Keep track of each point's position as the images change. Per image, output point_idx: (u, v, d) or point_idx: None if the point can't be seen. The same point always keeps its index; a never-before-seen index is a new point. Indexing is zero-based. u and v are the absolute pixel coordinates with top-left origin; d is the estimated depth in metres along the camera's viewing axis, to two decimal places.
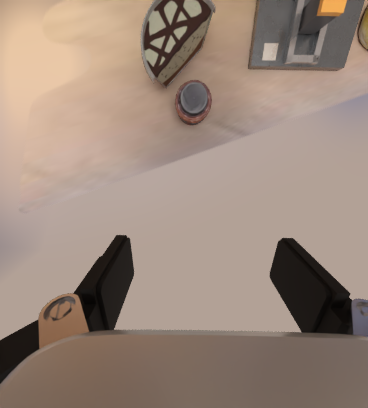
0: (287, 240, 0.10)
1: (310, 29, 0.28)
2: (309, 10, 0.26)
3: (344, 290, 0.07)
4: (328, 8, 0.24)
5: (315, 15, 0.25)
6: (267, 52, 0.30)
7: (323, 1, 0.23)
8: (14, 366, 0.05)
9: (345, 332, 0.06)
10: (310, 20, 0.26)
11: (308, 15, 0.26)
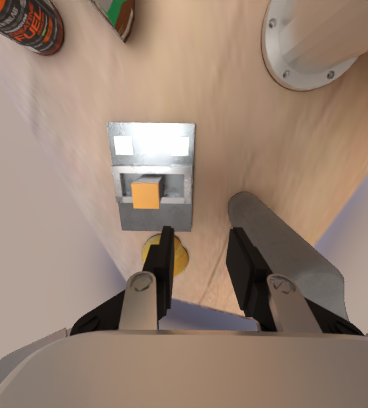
0: (236, 228, 0.11)
1: None
2: (151, 178, 0.23)
3: (264, 266, 0.08)
4: (135, 191, 0.21)
5: (136, 181, 0.21)
6: (122, 142, 0.24)
7: (140, 184, 0.20)
8: None
9: (261, 301, 0.07)
10: (137, 179, 0.22)
11: (147, 178, 0.23)
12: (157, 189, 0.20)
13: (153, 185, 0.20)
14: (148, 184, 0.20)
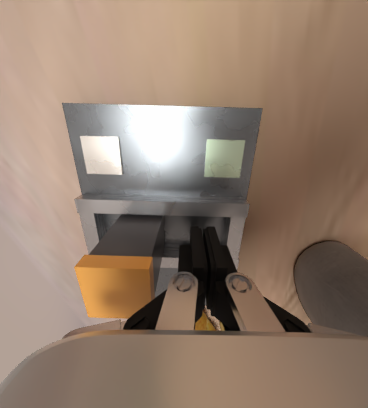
0: (208, 228, 0.11)
1: None
2: (137, 229, 0.10)
3: (225, 265, 0.08)
4: (87, 284, 0.08)
5: (96, 249, 0.09)
6: (99, 148, 0.11)
7: (100, 268, 0.07)
8: None
9: (220, 300, 0.07)
10: (103, 239, 0.09)
11: (127, 230, 0.10)
12: (148, 280, 0.08)
13: (137, 272, 0.07)
14: (123, 270, 0.07)
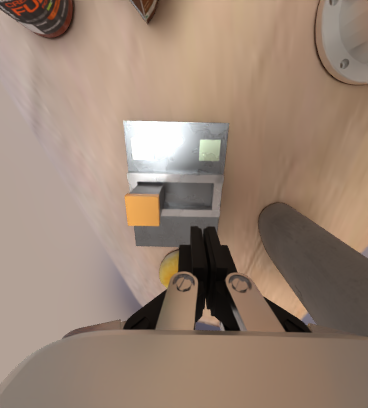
0: (208, 228, 0.11)
1: None
2: (150, 187, 0.19)
3: (225, 265, 0.08)
4: (129, 205, 0.17)
5: (131, 193, 0.18)
6: (141, 145, 0.20)
7: (136, 196, 0.16)
8: None
9: (220, 300, 0.07)
10: (133, 190, 0.18)
11: (144, 187, 0.19)
12: (157, 203, 0.17)
13: (152, 198, 0.16)
14: (146, 197, 0.16)
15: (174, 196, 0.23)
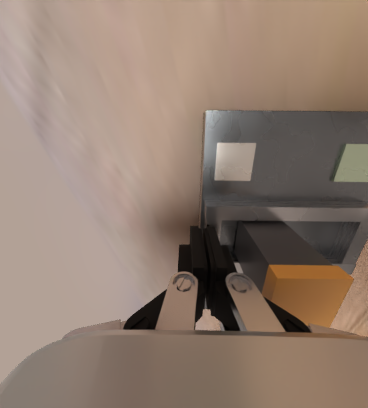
0: (208, 228, 0.11)
1: (242, 245, 0.12)
2: (279, 236, 0.10)
3: (225, 265, 0.08)
4: (281, 294, 0.07)
5: (269, 259, 0.08)
6: (234, 155, 0.11)
7: (302, 278, 0.07)
8: None
9: (220, 300, 0.07)
10: (260, 247, 0.09)
11: (270, 237, 0.10)
12: (344, 289, 0.07)
13: (339, 283, 0.07)
14: (326, 281, 0.07)
15: None
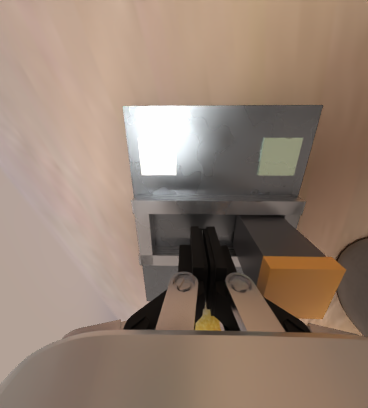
0: (207, 228, 0.11)
1: (239, 239, 0.12)
2: (276, 229, 0.10)
3: (224, 265, 0.08)
4: (275, 285, 0.08)
5: (264, 251, 0.09)
6: (156, 150, 0.11)
7: (295, 269, 0.07)
8: None
9: (219, 300, 0.07)
10: (256, 240, 0.09)
11: (266, 230, 0.10)
12: (337, 280, 0.08)
13: (331, 273, 0.07)
14: (319, 271, 0.07)
15: None
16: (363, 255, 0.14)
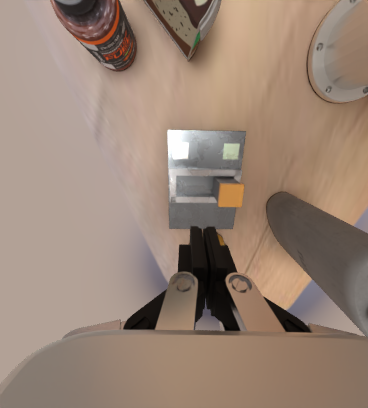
0: (208, 228, 0.11)
1: (214, 187, 0.27)
2: (227, 179, 0.26)
3: (225, 265, 0.08)
4: (223, 191, 0.23)
5: (220, 183, 0.24)
6: (180, 147, 0.27)
7: (228, 185, 0.23)
8: None
9: (220, 300, 0.07)
10: (218, 181, 0.25)
11: (224, 180, 0.26)
12: (242, 189, 0.23)
13: (240, 186, 0.23)
14: (236, 185, 0.23)
15: (202, 187, 0.29)
16: (274, 199, 0.30)
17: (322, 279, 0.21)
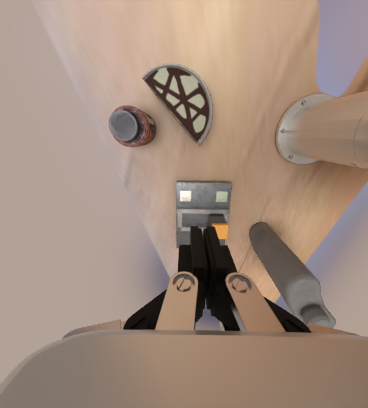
0: (208, 228, 0.11)
1: (209, 221, 0.38)
2: (218, 218, 0.37)
3: (225, 265, 0.08)
4: None
5: (213, 222, 0.35)
6: (185, 194, 0.37)
7: (218, 225, 0.34)
8: None
9: (220, 300, 0.07)
10: (212, 220, 0.36)
11: (216, 218, 0.37)
12: (227, 228, 0.34)
13: (226, 226, 0.34)
14: (223, 225, 0.34)
15: (201, 220, 0.40)
16: (254, 228, 0.41)
17: (279, 290, 0.32)
